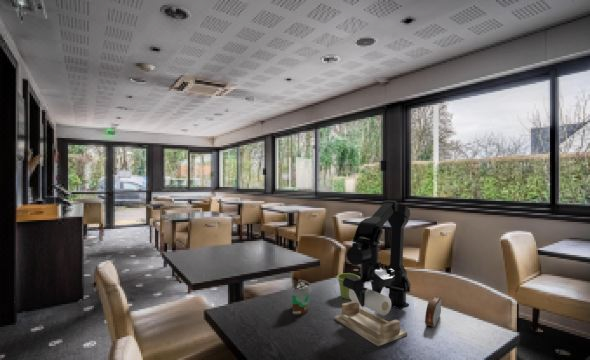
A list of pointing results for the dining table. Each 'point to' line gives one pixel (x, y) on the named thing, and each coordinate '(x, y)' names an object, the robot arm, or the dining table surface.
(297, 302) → the food container
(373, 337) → the holder
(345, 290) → the plant pot
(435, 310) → the tin
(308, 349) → the dining table surface
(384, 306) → the paper roll
